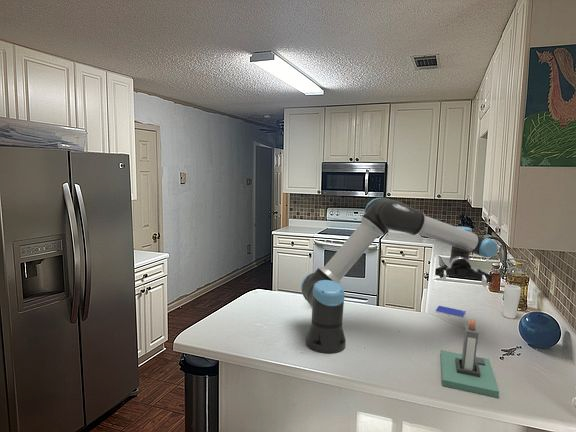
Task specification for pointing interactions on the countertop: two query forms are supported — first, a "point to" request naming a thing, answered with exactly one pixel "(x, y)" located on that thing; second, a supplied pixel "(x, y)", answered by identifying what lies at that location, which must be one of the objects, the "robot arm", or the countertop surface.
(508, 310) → the drinking glass
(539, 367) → the countertop surface
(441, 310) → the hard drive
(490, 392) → the board
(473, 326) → the plug
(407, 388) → the countertop surface
